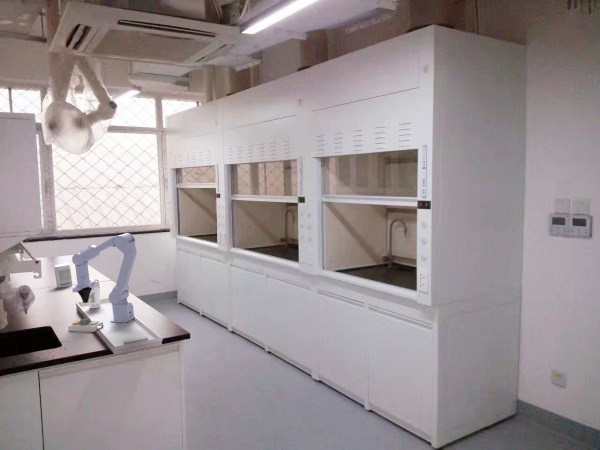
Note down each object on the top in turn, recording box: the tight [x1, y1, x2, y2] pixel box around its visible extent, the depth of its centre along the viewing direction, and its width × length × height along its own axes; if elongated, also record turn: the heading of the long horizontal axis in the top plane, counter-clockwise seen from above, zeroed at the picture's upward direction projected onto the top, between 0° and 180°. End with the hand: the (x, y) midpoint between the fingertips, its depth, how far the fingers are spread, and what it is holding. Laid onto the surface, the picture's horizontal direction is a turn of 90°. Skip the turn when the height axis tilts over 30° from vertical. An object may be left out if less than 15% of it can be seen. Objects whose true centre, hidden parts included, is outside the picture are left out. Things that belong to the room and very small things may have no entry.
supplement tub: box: [53, 263, 73, 289], centre depth 323 cm, size 10×10×15 cm
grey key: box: [79, 317, 91, 325], centre depth 229 cm, size 3×3×2 cm
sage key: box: [89, 321, 99, 325], centre depth 228 cm, size 3×3×2 cm
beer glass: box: [88, 279, 102, 309], centre depth 266 cm, size 7×7×15 cm
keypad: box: [67, 320, 104, 333], centre depth 229 cm, size 14×7×3 cm, turn 77°
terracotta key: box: [71, 320, 80, 325], centre depth 230 cm, size 3×3×2 cm
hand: (85, 302), depth 242 cm, fingers closed
